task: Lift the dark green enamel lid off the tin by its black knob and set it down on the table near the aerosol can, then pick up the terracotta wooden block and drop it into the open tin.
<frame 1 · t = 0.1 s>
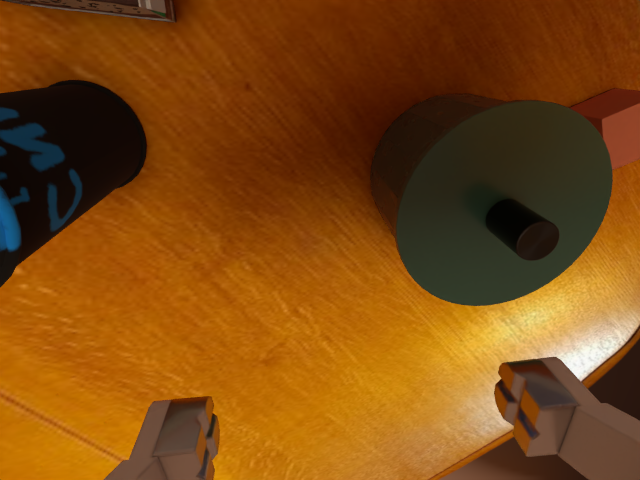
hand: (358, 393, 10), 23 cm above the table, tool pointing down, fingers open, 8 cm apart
block: (589, 124, 31), on the table
lid: (498, 213, 24), point 9 cm above the table, touching tin
aerosol can: (92, 137, 29), on the table
tin: (442, 171, 32), on the table
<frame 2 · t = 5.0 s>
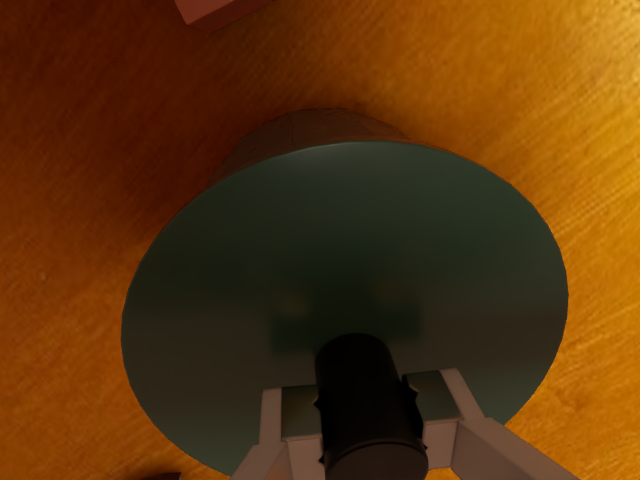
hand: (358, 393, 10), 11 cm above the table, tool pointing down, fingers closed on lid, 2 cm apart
lid: (349, 348, 12), point 10 cm above the table, touching gripper, tin
tin: (322, 227, 21), on the table
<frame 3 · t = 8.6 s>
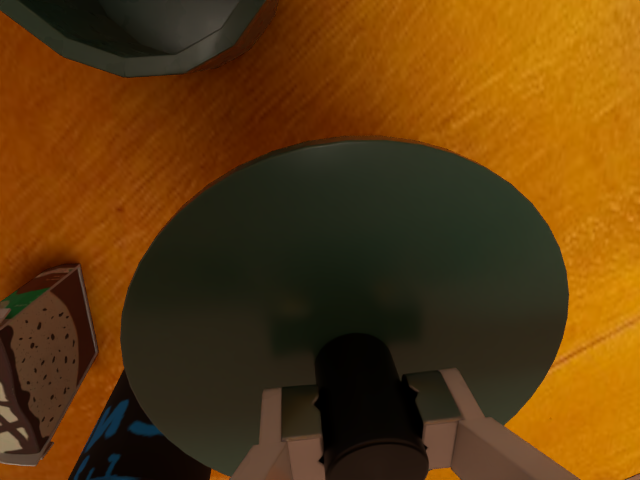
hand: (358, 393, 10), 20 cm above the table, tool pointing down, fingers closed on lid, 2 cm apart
lid: (349, 348, 12), point 18 cm above the table, touching gripper
food container: (52, 308, 32), on the table
aerosol can: (192, 331, 34), on the table
when the fingers open (2 cm above the table, at t = 12.6 s): lid stays where it is, point 1 cm above the table.
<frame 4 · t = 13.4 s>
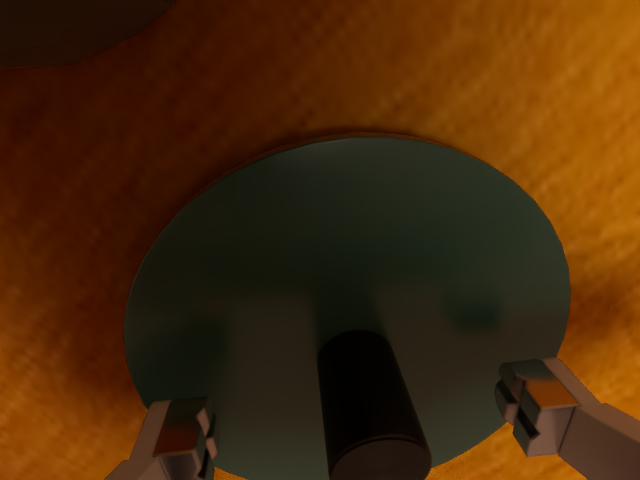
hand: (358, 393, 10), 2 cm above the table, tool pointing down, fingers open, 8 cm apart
lid: (352, 345, 12), point 1 cm above the table
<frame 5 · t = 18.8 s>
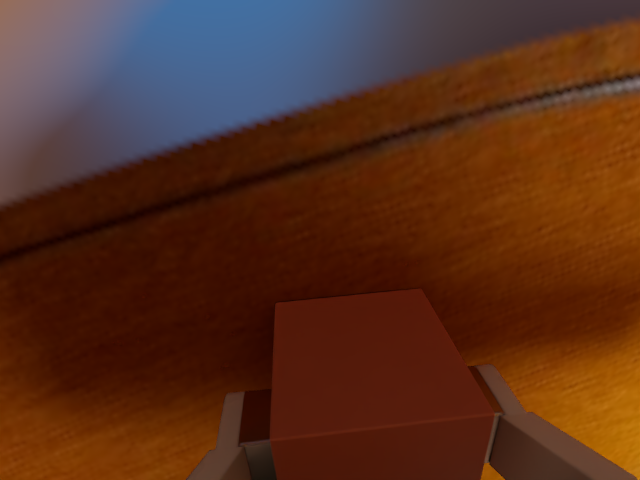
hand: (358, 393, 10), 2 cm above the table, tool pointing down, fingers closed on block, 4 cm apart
block: (350, 350, 12), on the table, touching gripper
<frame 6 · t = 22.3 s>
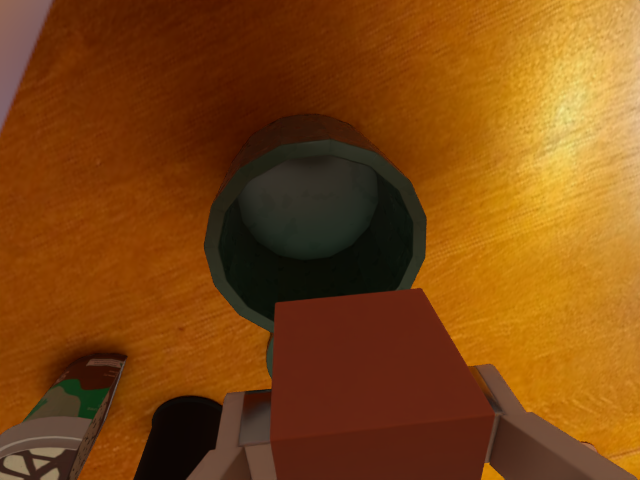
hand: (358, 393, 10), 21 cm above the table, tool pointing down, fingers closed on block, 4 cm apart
block: (350, 350, 12), point 19 cm above the table, touching gripper
food container: (84, 379, 36), on the table
aerosol can: (192, 420, 40), on the table
tin: (308, 196, 30), on the table
when the fingers open (9 cm above the table, at t = 25.7 s): block drops 7 cm, resting on tin.
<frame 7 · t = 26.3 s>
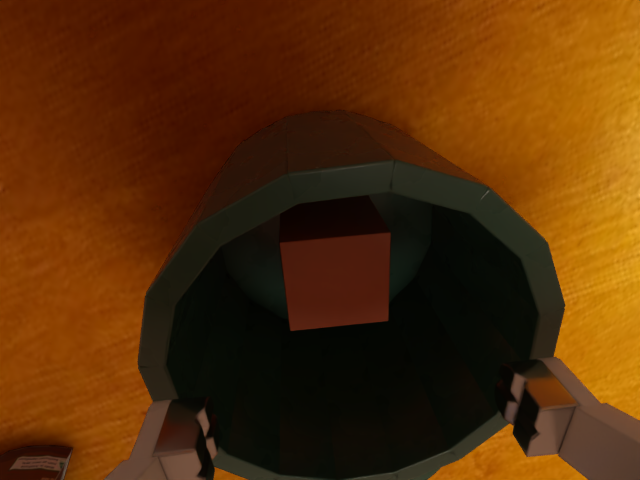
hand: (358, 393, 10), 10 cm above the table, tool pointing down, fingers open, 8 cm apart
block: (327, 238, 19), point 1 cm above the table, touching tin
food container: (16, 477, 26), on the table
tin: (326, 234, 20), on the table
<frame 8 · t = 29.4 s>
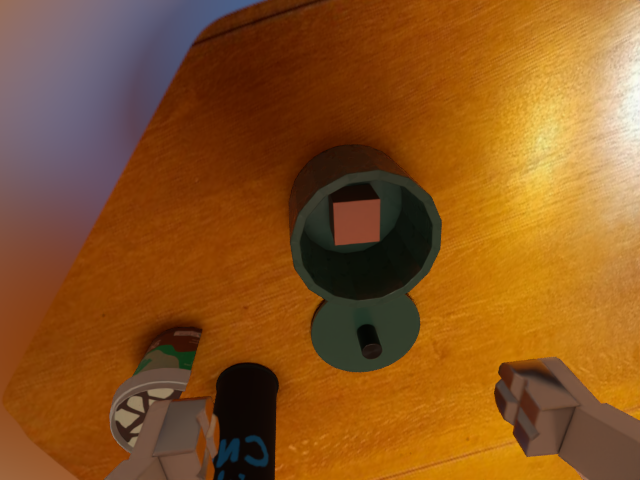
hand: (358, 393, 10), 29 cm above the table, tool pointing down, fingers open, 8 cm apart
block: (349, 206, 39), point 1 cm above the table, touching tin
lid: (365, 328, 46), point 1 cm above the table
food container: (166, 348, 46), on the table
aerosol can: (248, 384, 50), on the table
tin: (349, 204, 39), on the table
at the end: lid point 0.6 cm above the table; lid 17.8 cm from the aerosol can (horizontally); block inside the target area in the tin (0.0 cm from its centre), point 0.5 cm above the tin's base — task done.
